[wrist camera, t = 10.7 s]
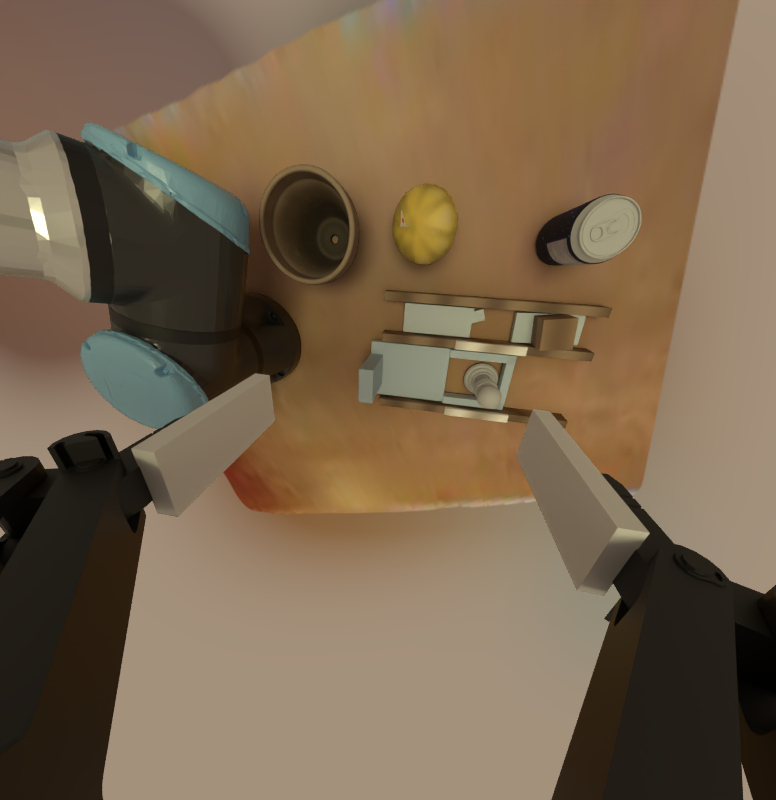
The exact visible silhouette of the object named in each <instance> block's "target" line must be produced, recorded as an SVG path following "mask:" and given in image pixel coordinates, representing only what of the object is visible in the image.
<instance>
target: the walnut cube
mask: <svg viewBox="0 0 776 800" xmlns="http://www.w3.org/2000/svg"><path fill="white" fill-rule="evenodd" d="M578 320H579V318H577V317H574V316H571V315H568V314H549V315H534V321H533V328H532V335H531V343H530V344H532V345H533V346H534V347H535V348H537V349H538V350H539V351H548V350H573V345H574V340H575V335H576V330H577V325H578Z"/></svg>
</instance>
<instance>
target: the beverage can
mask: <svg viewBox="0 0 776 800" xmlns="http://www.w3.org/2000/svg"><path fill="white" fill-rule="evenodd" d="M641 220H642V215H641V210H640V207H639V205H638V204H637V203H636V202H635V201H634V200H633V199H631V198H629V197H626V196H623V195H620V194H608V195H604V196H601V197H598V198H596V199H594V200H592V201H589V202H587V203H585V204H583V205H580V206H578V207H576V208H574V209H571V210H569V211H567V212H565V213H562V214H560V215H558V216H556V217H554V218H552V219H551V220H550V221H548V222H547V223H546V224H545V225H544V227H543V228H542V230H541V231H540V233H539V236H538V239H537V244H536V248H537V253H538V255H539V257H540V259H541V260H542V261H543V262H545V263H547V264H549V265H579V264H598V263H602V262H605V261H608V260H610V259H612V258H613V257H615V256H616V255H618V254H619V253H621V252H622V251H623V250H625V249H626V248H627V247H628V246H629V245H630V244H631V243H632V242H633V240H634V239H635V237H636V235H637V234H638V231H639V229H640V226H641Z"/></svg>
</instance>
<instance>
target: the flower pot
mask: <svg viewBox="0 0 776 800" xmlns="http://www.w3.org/2000/svg"><path fill="white" fill-rule="evenodd" d="M259 225H260V233H261V237H262V241H263V243H264V246H265V248H266V251H267V253H268V255H269V256H270V258H271V259H272V261H273V262H274V264H275V265H276V266H277V267H278V268H279V269H280V270H281V271H282V272H283V273H284V274H285V275H287V276H288V277H290V278H291V279H293V280H295V281H298V282H300V283H304V284H310V285H317V284H324V283H328V282H331V281H334V280H336V279H337V278H339V277H340V276H342V275H343V274H344V273H345V272H346V271H347V269H348V268H349V267H350V265H351V264H352V262H353V260H354V257H355V255H356V251H357V247H358V241H359V223H358V217H357V213H356V210H355V207H354V205H353V203H352V201H351V199H350V197H349V195H348V194H347V192H346V191H345V190H344V189H343V187H342V186H341V185H340V184H339V182H338V181H337V180H336V179H335V178H334V177H333V176H331V175H330V174H329V173H328V172H326V171H324V170H323V169H321V168H318V167H315V166H312V165H302V164H301V165H294V166H291V167H288V168H286V169H284V170H282V171H281V172H279V173H278V174H277V175H276V176H275V177H274V178H273V179H272V180H271V182H270V183H269V185H268V186H267V188H266V190H265V192H264V194H263V197H262V200H261V205H260V211H259ZM333 235H337V236H338V239H339V240H338V243H337V244H334V243H333V242H332V236H333Z"/></svg>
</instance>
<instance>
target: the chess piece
mask: <svg viewBox="0 0 776 800" xmlns="http://www.w3.org/2000/svg"><path fill="white" fill-rule="evenodd" d="M497 383H498V373H497V371H496V369H495V368H494V367H493V366H491V365H489V364H486V363H478V364H475V365H473V366H471V367H470V368H469V369H468V370H467V372H466V373H465V376H464V384H465V386H466V388H467V389H468V390H469V391H470V392H472V393H474V394H475V396H476V399H477V402H478V404H479V405H480V406H482V407H483V408H486V409H492V408H495V407H496V406H498V405H499V403H500V402H501V398H502V395H501V392H500V390H499V389H498V386H497Z"/></svg>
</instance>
